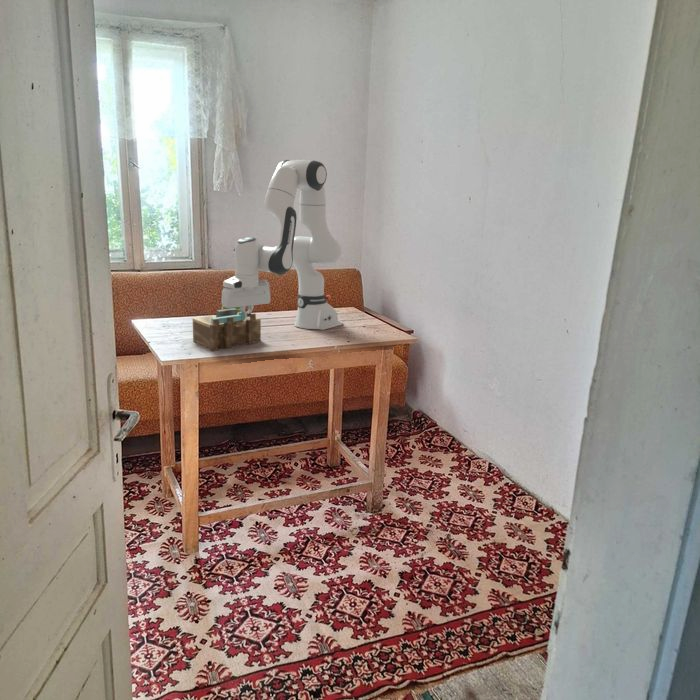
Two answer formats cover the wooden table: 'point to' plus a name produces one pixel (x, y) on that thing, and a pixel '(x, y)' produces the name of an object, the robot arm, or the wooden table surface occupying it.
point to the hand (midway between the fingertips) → (246, 317)
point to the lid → (221, 313)
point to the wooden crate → (227, 333)
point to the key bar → (235, 317)
